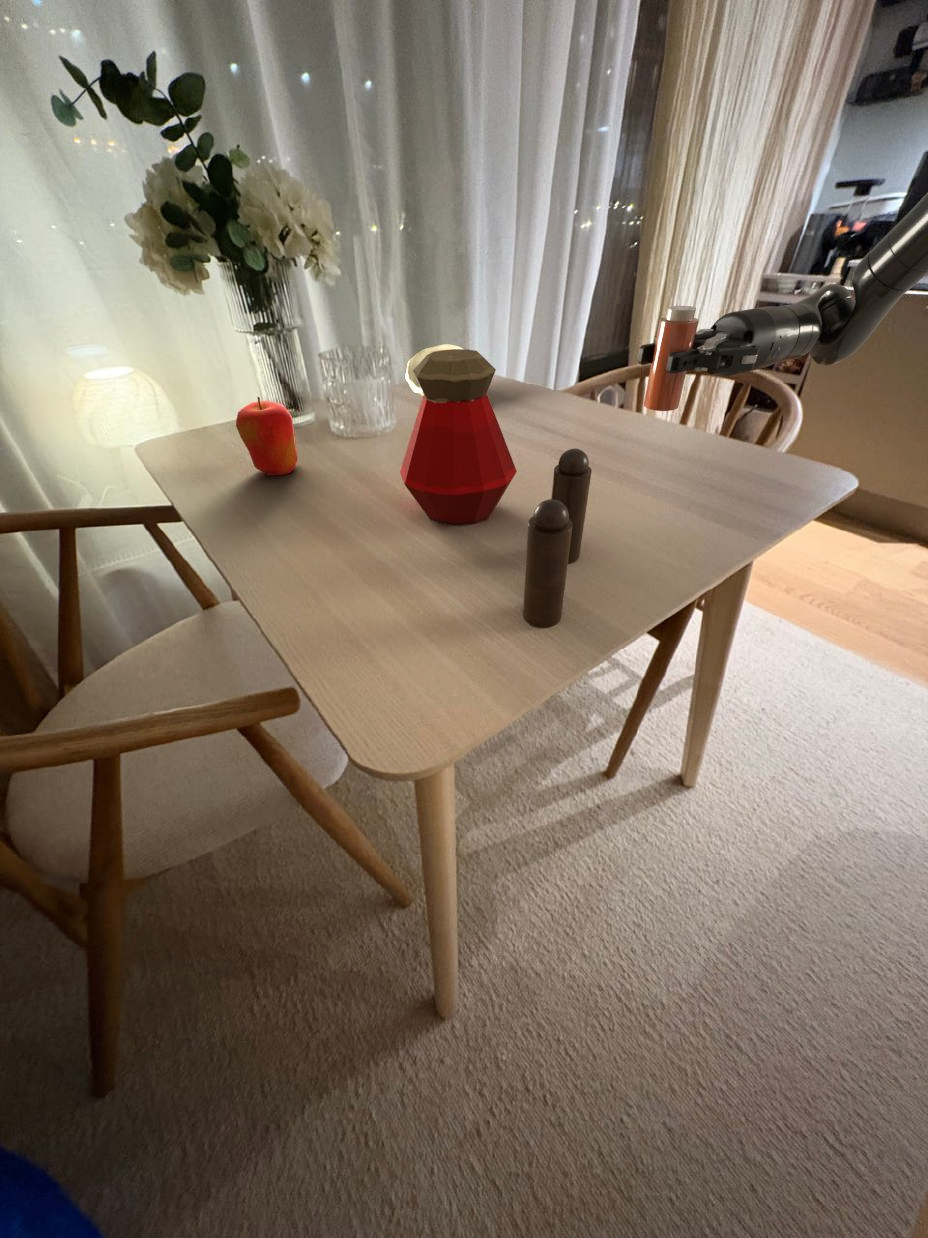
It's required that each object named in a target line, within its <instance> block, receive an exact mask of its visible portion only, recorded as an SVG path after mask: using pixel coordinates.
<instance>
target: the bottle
mask: <svg viewBox="0 0 928 1238" xmlns="http://www.w3.org/2000/svg"><path fill="white" fill-rule="evenodd" d="M496 370H497V369H496V368H495V367H494V366H493V365H492V364H491V363H490V362H489V361H488V360H487V359H486V358H485V357H484V356H483V355H482V354H481V353H480V352H479V351H477V350H473V349H466V348H465V349H464V348H462V349H449V350H440V351H434V352H431V353H430V354H428V355H426V357H425V358H424V359H423V360H422V361H421V362H420V363H419V365H418V366H417V367H416V368H415V369H414V370H413V372H414V374H415V376H416V379H417V381H418V383H419V385H420V387H421V389H422V391H423V393H424V395H423V396H422V398H421V402H420V406H419V408H418V412H417V414H416V418H415V422H414V424H413V429H412V431H411V435H410V438H409V441H408V444H407V448H406V451H405V454H404V457H403V461H402V464H401V467H400V470H399V472H400V476H401V479H402V482H403V483H404V484H403V485H404V486H405V487H406V489H407V491H409V493H410V495H411V496H412V497H413V498H414V500H415V501H416V503H417V504H418V505H419V507H420V509H422V511H423V512H424V514H425V515H426V516H427V517H428V519H429V520H430V521H433V522H436V523H438V524H440V525H449V526H456V527H459V526H467V525H475V524H478V523H481V522H484V521H488V519H489V518H490V516H491V515H492V514H493V512H494V510H495V509H496V507H497V506H498V503H500V500H501V499H502V497H503V496H504V494H505V493H506V490H507V489H508V488H509V486H510V484H511V482H512V480H513V479H514V477H515V475H516V474H517V468H516V466H515V465H516V464H515V463H514V461H513V458H512V455H511V452H510V450H509V447H508V445H507V441H506V439H505V437H504V435H503V432H502V430H501V426H500V424H499V421H498V418H497V416H496V413H495V411H494V408H493V405H492V403H491V401H490V398H489V395H488V392H489V389H490V386H491V384H492V380H493V379H494V376H495V373H496Z"/></svg>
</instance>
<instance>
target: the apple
mask: <svg viewBox="0 0 928 1238" xmlns="http://www.w3.org/2000/svg"><path fill="white" fill-rule="evenodd" d="M256 397H257V401H254V402H253V401H252V402H250V403H249V404H247V405H245V406H244V407H242V408H240V410H239V411H238V412H237V416H236V421H235V427H236V429H237V432H238V435H239V437H240V438H241V441H242V442H243V444H244V446H245V447H246V449H247V451H248V453H249V456H250V459H251V461H252V464H253V467H254V468H255V469H256V470H258V471H260V472H261V473H264V474H265V475H267V476H281V475H282V476H283V475H288V474H289V473H292V471H294V469H295V467H296V465H297V462H298V452H297V446H296V445H297V444H296V439H295V429H294V423H293V416H292V415H291V413H290V411H289V410H288V409H287V407H286V406H285V405H283V404H281V403H277V402H274V401H268V400H261V397H259V396H256Z"/></svg>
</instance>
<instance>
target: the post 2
mask: <svg viewBox="0 0 928 1238" xmlns="http://www.w3.org/2000/svg"><path fill="white" fill-rule="evenodd" d="M592 472H593V471H592V468H591V467H590V461H589V457H588V455H587V454H586V452H585V451H583V450H582V449H580V448H575V447H574V448H568V449H567V450H565V451H564V452H563V453H562V454H561V455H560V457H559V460H558V464H557V465H555V466H554V469H553V477H552V487H551V488H552V489H551V499H555V500H558V501H560V502H562V503H563V504H564V505H565V506H566V508H567V510H568V513H569V519H570V520H571V521H572V524H573V526H572V534H571V542H570V550H569V558H568V564H569V565H570V564H573V563H576V562H577V561H579V559H580V556H581V548H582V541H583V534H584V528H585V520H586V513H587V506H588V500H589V492H590V486H591V485H590V484H591V480H592Z"/></svg>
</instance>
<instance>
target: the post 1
mask: <svg viewBox="0 0 928 1238" xmlns="http://www.w3.org/2000/svg"><path fill="white" fill-rule="evenodd" d="M572 526H573V524H572V521H571V520H570V519H569V513H568V510H567V508H566V506H565V505H564V504H563V503H562V502H560V501H558V500H555V499H552V498H551V499H546V500H545V499H544V500H543V501H541V502H540V503H538V505H536V506H535V509H534V510H533V514H532V516H531V517H530V518H529V520H528V522H527V538H526V555H525V569H524V570H525V572H524V587H523V589H524V590H523V603H522V604H523V605H522V606H523V607H522V617H523V619H524V621H525V623H527V624H529V625H530V626H532V627H536V628H540V629H541V628H542V629H545V628H551V627H554V626H556V625H558V624H559V623H560V621H561V619H562V612H563V605H564V597H565V588H566V582H567V581H566V580H567V574H568V558H569V550H570V542H571V534H572Z"/></svg>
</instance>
